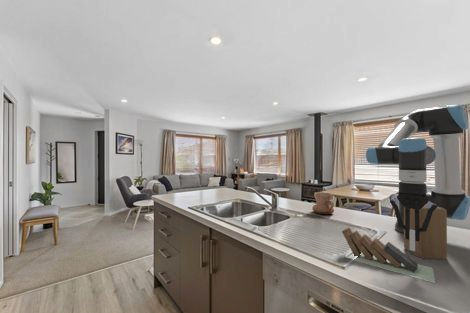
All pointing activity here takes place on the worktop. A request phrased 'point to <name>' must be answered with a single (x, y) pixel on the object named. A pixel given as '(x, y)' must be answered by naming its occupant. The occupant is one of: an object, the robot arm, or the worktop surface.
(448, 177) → the robot arm
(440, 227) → the block
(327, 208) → the ceramic jug
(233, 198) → the worktop surface
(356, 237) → the domino
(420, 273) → the mat
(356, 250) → the domino end
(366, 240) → the domino
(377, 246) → the domino
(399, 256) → the dark gray domino
